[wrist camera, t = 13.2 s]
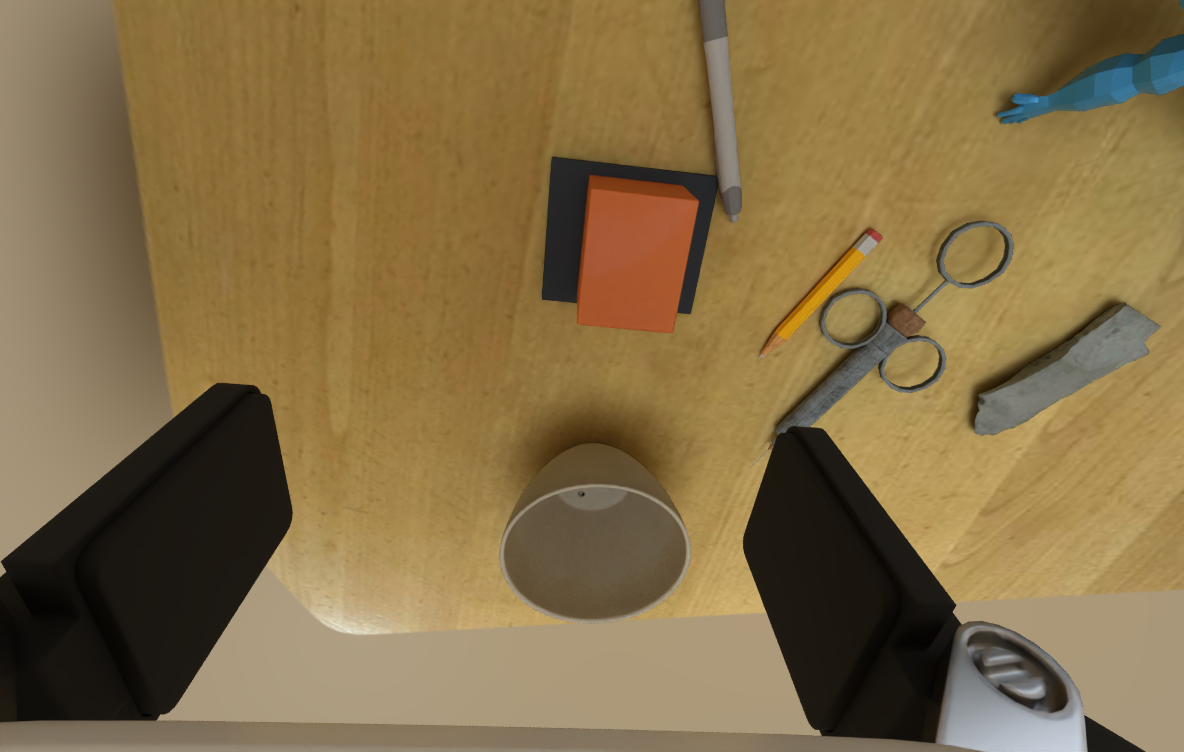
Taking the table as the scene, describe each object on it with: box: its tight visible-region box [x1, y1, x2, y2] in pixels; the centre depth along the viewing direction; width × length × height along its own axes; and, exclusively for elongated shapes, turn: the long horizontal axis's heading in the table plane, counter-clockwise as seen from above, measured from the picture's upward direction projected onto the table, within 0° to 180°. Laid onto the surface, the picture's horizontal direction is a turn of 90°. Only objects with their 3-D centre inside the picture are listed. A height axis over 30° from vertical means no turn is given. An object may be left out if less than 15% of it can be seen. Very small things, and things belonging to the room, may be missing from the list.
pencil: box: [759, 229, 883, 359], centre depth 28 cm, size 1×9×1 cm
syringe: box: [750, 221, 1014, 467], centre depth 30 cm, size 8×18×2 cm, turn 145°
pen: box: [699, 0, 742, 223], centre depth 22 cm, size 1×14×1 cm, turn 13°
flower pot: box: [499, 443, 691, 624], centre depth 31 cm, size 10×10×7 cm
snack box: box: [577, 175, 699, 333], centre depth 25 cm, size 6×4×4 cm
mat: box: [542, 157, 719, 314], centre depth 27 cm, size 8×7×1 cm
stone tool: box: [974, 302, 1161, 435], centre depth 31 cm, size 10×2×5 cm
